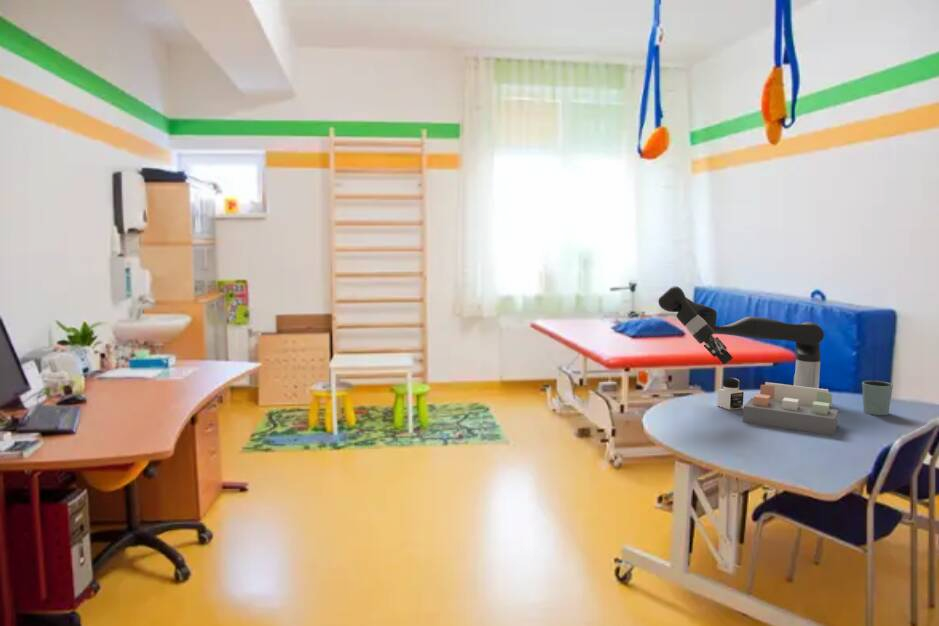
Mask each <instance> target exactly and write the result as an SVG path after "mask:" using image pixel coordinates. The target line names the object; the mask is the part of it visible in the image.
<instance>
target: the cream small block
mask: <svg viewBox="0 0 939 626" xmlns="http://www.w3.org/2000/svg"><path fill="white" fill-rule="evenodd" d="M782 409H789V410H796V411H798V409H799V399H793V398H784V399H783V400H782Z"/></svg>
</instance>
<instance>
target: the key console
mask: <svg viewBox="0 0 939 626" xmlns="http://www.w3.org/2000/svg"><path fill="white" fill-rule="evenodd" d="M759 389H760V391H759V392H760V393H759V394H762V395H770V405H769V406H768V407H767V406H760V405H753V400H754V397H751V398H750V399H749V400H748V401H747V402H746V403H745V404H743V414H742V415H743V417H742V422H745V423H751V424H758V425H763V426H769V427H771V426H772V427H776V428H783V429H790V430H797V431H802V432H809V433H816V434H824V435H829V436H833V435H834V434H835V431H836V428H837V427H838V416H839V410H838V409H835V408H829V415H825V414H818V413H812V404H813V402H814V401H816V402H824V403H830V405H829V407H833V405H832V404H833V392H832V393H831V392H829V389H828V388H811V387H802V386H794V385H792V384H786V383H785V384H784V383H776V382H767V381H765V382H764V384H760V388H759ZM784 398H793V399H799V409H798V411H796V410H789V409H782V400H783V399H784Z"/></svg>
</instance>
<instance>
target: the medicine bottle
mask: <svg viewBox="0 0 939 626" xmlns="http://www.w3.org/2000/svg"><path fill="white" fill-rule="evenodd" d="M722 382H723V383H722V388H719V389H717V402H716V403H717V404H716V405H717V407H719V406H720V407H719V408H722V407H723V408H722V409H726V410H729V411H732V410H738V409H739V410H741V409H744V395H745V394H744V391H743V390H740V380H739V379H737V378H735V377H725V378H723V380H722Z"/></svg>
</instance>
